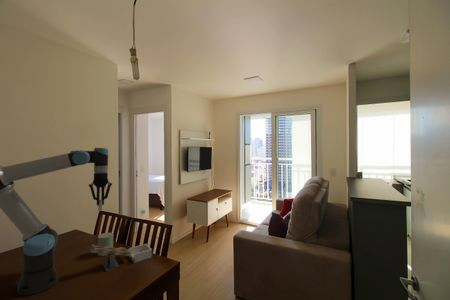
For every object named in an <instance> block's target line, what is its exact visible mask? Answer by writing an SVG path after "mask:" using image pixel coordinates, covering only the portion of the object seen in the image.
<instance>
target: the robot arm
mask: <svg viewBox="0 0 450 300" xmlns="http://www.w3.org/2000/svg"><path fill="white" fill-rule="evenodd" d="M86 164H93V172H94V173H93V180H92V183H90V184H88V187H89V189H90V192H91V194H92V195H91V196H92V199H93V201H94V200H95V201H96V206H97V207H98V212H102V211H103V206H104V205H105V200H106V199H108V197H109V194H110V189H111V188H112V186H113V183H112V182H110V181H109V178H108V174H109V173H108V170H109V149H108V148H107V147H94V149H93V150H77V149H76V150H70V152H68V153H63V154H59V155H53V156H50V157H48V156H47V157H45V158H40V159H34V160H31V161H25V162H20V163H15V164H12V165H6V166H3V165H0V209H1V211H2V212H3V213H4V214H5V215H6V216H7V218H8V219H9V220H10V221H11V223H12V224H13V226H15V227H16V228H17V229H18V231H19V232H20V233H21V235H23V236H22V238H21V240H22V241H23V242H24V243H23V247H22V252H23V254H22V274H21V277H20V280H19V282H18V284H17V288H16V289H17V294H18V295H19V296H30V295H36V294H39V293H42V292H44V291H46V290H48V289H51V288H52V287H53V286H56V284H57V282H58V280H59V279H58V278H59V275H58V272H57V270H56V268H55V249H56V246H57V244H58V242H59V234H58V232H57V231H56V230H55V229H54V228H51V227H50V226H49V225H48V223H43V222H41V220H40V219H39V217H37V216H36V214H35V213H34V212H33V210H32V209H31V208H30V207H29V206H28V204H27V203H26V202H25V201H24V200H23V198H22V197H21V196H20V194H19V193H18V192H17V190H15V188H14V187H15V184H16V183H15V181H19V180H23V179H24V180H25V179H28V178H32V177H36V176H40V175H44V174H48V173H52V172H57V171H60V170H65V169H68V168H72V167H77V166H83V165H86ZM94 186H95V187H96V192H95V189H94ZM105 187H106V190H105ZM100 189H101V190H100ZM100 195H101V196H100ZM100 197H101V198H100Z"/></svg>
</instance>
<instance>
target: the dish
mask: <svg viewBox="0 0 450 300" xmlns="http://www.w3.org/2000/svg"><path fill="white" fill-rule="evenodd" d="M128 249H129V252H132V253H131V255H130V256H128V257H129V259H131V261H132V262H133V263H134V264H136V263H138V262H142V261H145V260H148V259H152V258H153V249H152V248H151V247H150V246H149V245H148V244H147V243H144V244H140V245H136V246H132V247H129V248H128ZM141 250H145V251H143V252H140V251H141Z"/></svg>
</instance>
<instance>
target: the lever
mask: <svg viewBox="0 0 450 300" xmlns="http://www.w3.org/2000/svg"><path fill="white" fill-rule="evenodd" d="M89 248H90V249H89V251H90V253H91V254H93V253H94V254H97V253H101V254H109V255H110V254H114V253H115V256H124V257H125V256H127V257H129V256H130V255H131V253H132V252H129V248H128V249H127V247H122V246H119V247H113V248H111V247H102V246H98V245H95V244H93V243H92V244H91V246H90V247H89Z"/></svg>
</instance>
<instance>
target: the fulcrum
mask: <svg viewBox="0 0 450 300" xmlns="http://www.w3.org/2000/svg"><path fill="white" fill-rule="evenodd" d="M101 263H102V267H103V268H104V271H105V272H108V271H112V270H115V269H118V268H120V264H119V263H118V261H117V259H116V255H115V253H114V254H110V255H109V254H107V255H106V261H103V262H101Z"/></svg>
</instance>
